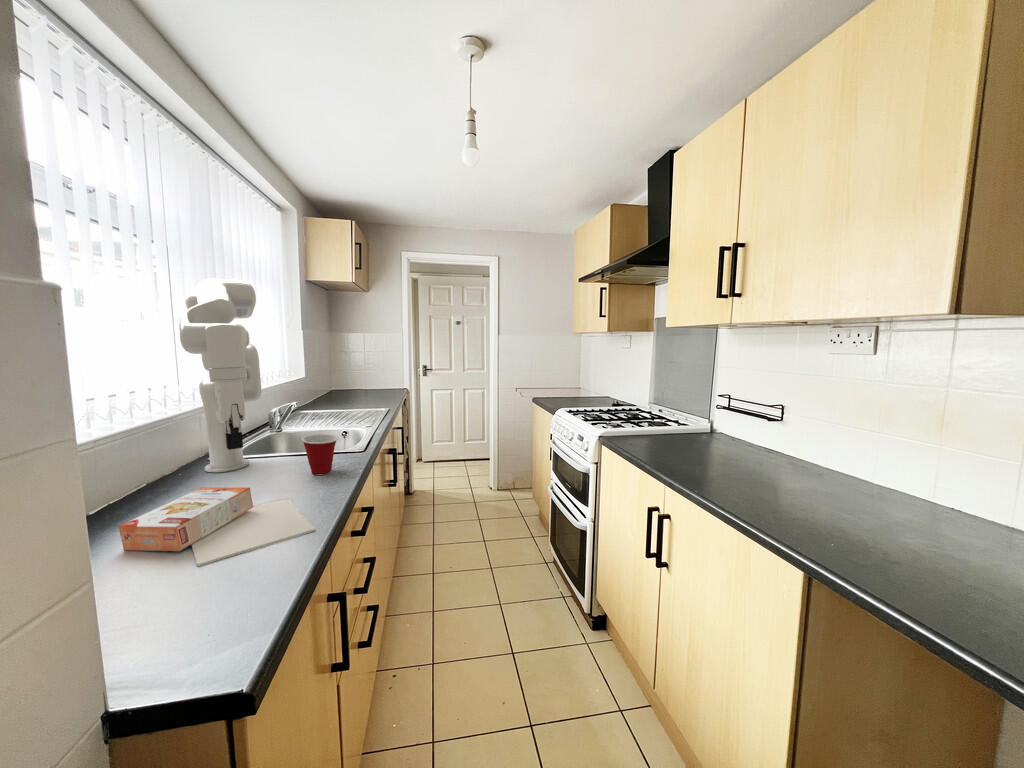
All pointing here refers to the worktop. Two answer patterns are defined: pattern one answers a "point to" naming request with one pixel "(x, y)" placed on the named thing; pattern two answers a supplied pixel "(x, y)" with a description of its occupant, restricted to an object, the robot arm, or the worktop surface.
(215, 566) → the worktop surface
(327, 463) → the plastic cup
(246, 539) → the mat
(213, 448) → the robot arm
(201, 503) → the cracker box
